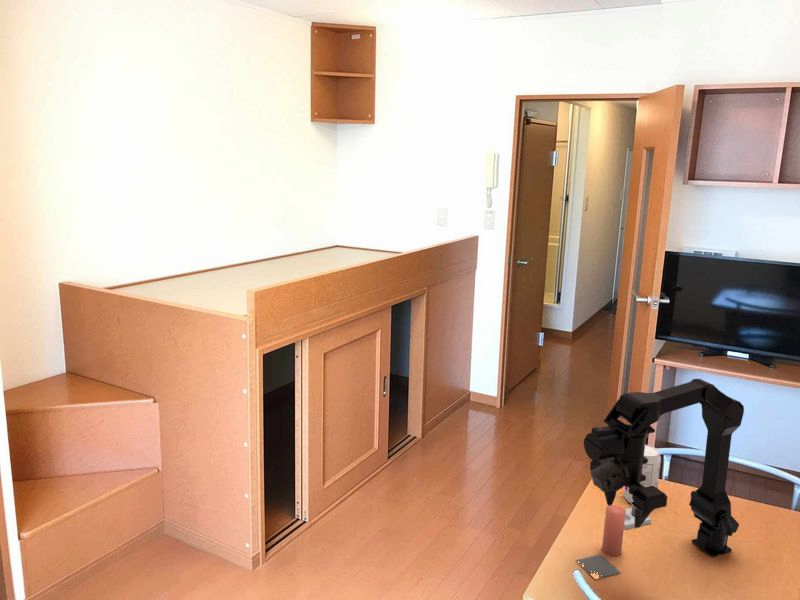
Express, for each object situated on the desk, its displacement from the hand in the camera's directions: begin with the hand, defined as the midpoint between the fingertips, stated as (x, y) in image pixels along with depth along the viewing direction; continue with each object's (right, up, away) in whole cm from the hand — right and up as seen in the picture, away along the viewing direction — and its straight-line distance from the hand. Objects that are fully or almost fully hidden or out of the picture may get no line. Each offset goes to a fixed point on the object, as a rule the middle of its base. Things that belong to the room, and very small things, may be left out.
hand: (623, 515), depth 143 cm
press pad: (-4, -14, +5) cm, 15 cm away
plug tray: (+10, -9, +24) cm, 28 cm away
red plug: (+1, -12, +11) cm, 17 cm away
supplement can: (+16, -7, +33) cm, 38 cm away
